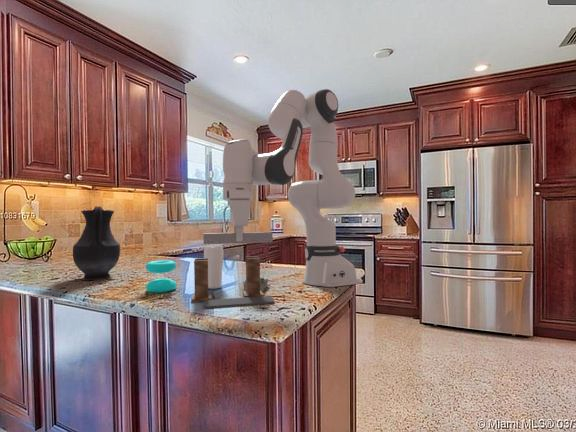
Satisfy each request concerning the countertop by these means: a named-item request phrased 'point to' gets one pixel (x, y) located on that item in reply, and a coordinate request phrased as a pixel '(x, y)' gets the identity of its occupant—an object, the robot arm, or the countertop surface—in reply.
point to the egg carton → (262, 284)
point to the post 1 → (201, 281)
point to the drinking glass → (214, 265)
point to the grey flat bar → (238, 302)
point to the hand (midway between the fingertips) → (238, 240)
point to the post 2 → (252, 277)
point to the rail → (231, 238)
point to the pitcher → (96, 245)
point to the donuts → (161, 284)
